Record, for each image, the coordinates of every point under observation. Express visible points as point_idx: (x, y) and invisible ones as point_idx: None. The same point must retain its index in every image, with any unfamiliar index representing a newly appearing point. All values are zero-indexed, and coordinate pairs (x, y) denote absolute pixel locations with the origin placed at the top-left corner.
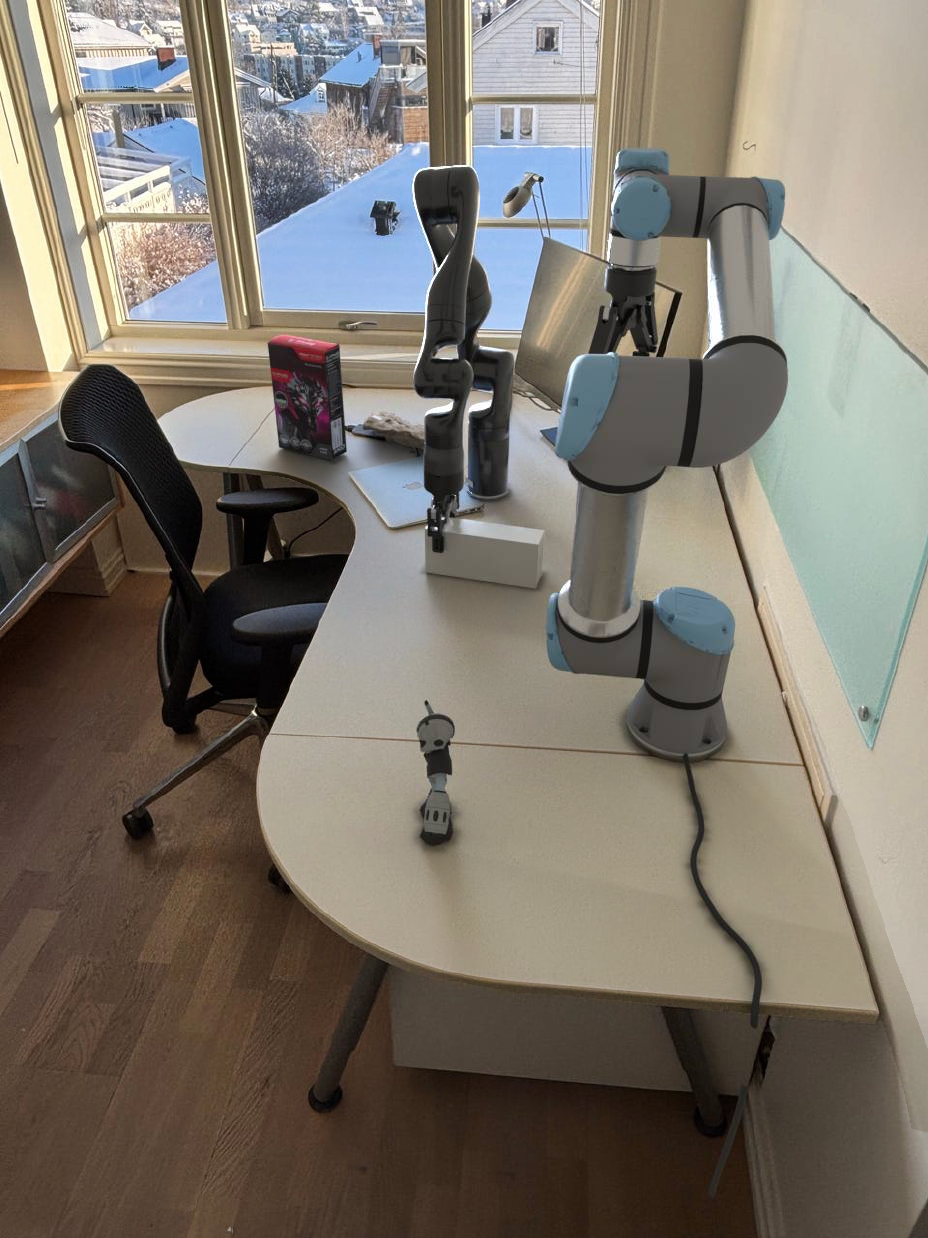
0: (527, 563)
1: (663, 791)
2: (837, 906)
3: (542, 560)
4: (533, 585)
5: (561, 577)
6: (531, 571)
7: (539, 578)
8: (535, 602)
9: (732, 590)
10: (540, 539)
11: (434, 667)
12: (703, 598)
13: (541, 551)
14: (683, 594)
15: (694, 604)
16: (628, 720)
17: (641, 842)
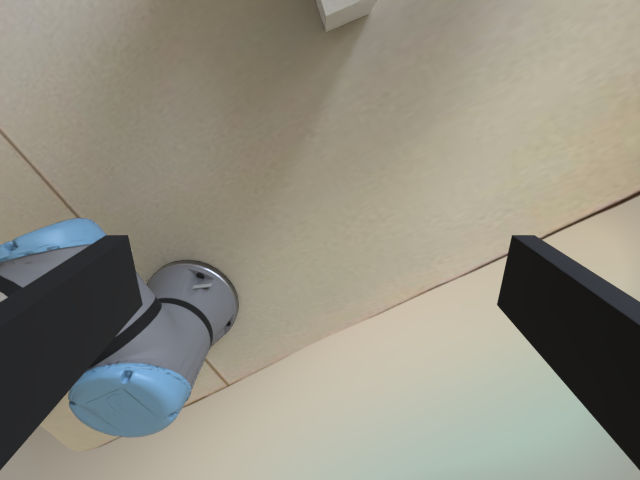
0: (319, 5)
1: None
2: None
3: (369, 8)
4: (324, 27)
5: (377, 48)
6: (322, 17)
7: (350, 21)
8: (294, 54)
9: (464, 254)
10: (344, 7)
11: (78, 29)
12: (147, 409)
13: (357, 9)
14: (129, 394)
15: (122, 408)
16: (155, 274)
17: None
